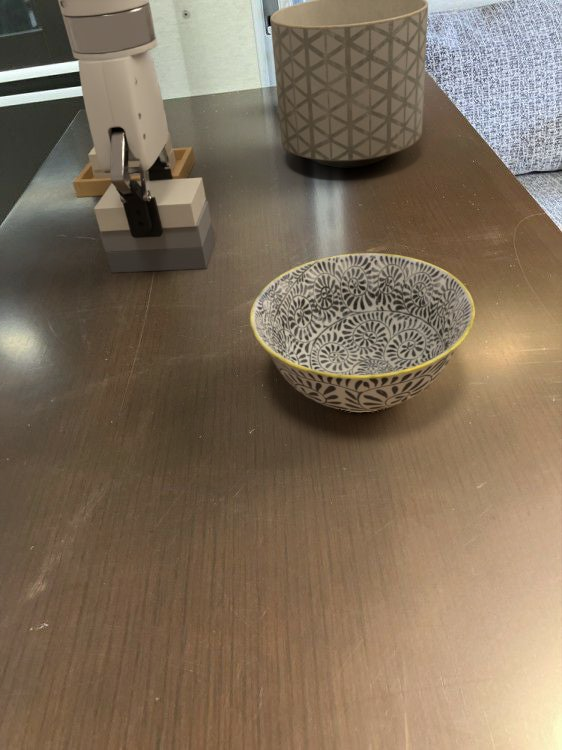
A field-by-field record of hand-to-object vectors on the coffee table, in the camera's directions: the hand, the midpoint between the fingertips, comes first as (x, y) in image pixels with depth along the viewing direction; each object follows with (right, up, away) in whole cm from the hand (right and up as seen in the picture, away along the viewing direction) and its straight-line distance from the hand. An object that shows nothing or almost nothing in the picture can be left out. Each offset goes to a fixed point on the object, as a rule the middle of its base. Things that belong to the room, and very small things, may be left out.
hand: (155, 218), depth 66 cm
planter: (+23, +14, +21) cm, 34 cm away
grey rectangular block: (0, -4, +3) cm, 5 cm away
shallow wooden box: (-7, +11, +22) cm, 26 cm away
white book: (0, 0, 0) cm, 0 cm away
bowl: (+20, -18, -17) cm, 31 cm away
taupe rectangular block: (-7, +11, +22) cm, 26 cm away
